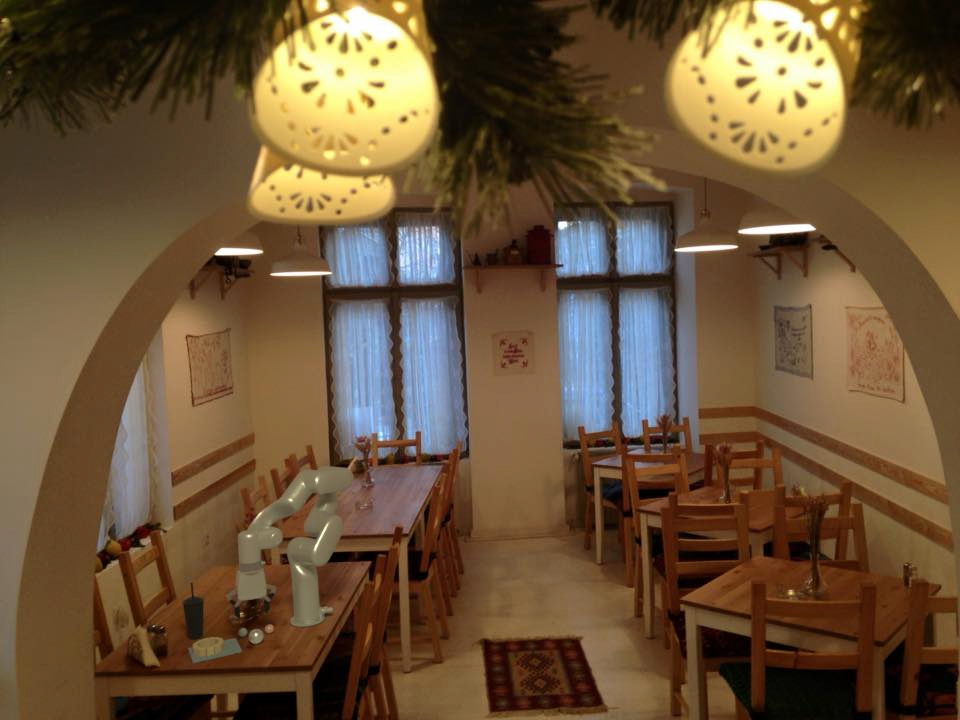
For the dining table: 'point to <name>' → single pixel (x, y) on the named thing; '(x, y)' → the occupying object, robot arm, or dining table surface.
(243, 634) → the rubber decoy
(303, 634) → the dining table surface
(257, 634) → the steel ball
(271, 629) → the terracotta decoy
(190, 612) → the drinking cup
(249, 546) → the robot arm
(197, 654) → the bearing housing
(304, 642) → the dining table surface
